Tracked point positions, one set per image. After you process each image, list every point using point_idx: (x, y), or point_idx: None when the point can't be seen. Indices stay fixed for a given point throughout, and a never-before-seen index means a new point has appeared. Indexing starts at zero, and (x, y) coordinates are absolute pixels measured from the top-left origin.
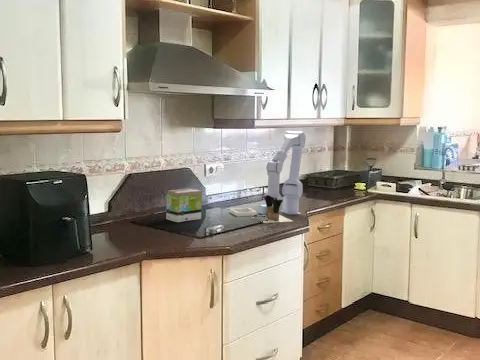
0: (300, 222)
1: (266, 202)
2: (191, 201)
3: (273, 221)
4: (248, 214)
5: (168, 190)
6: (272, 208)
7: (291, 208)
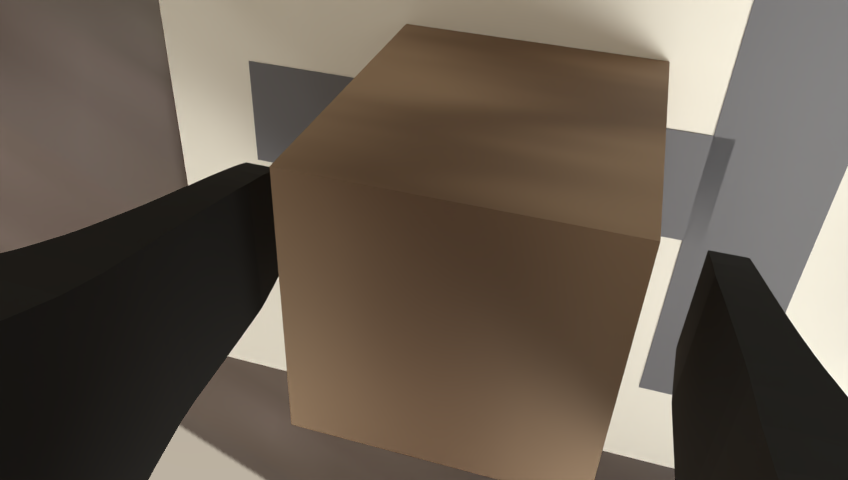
0: (198, 403)
1: (783, 418)
2: None
3: (241, 12)
4: None
5: None
6: (282, 231)
7: None
